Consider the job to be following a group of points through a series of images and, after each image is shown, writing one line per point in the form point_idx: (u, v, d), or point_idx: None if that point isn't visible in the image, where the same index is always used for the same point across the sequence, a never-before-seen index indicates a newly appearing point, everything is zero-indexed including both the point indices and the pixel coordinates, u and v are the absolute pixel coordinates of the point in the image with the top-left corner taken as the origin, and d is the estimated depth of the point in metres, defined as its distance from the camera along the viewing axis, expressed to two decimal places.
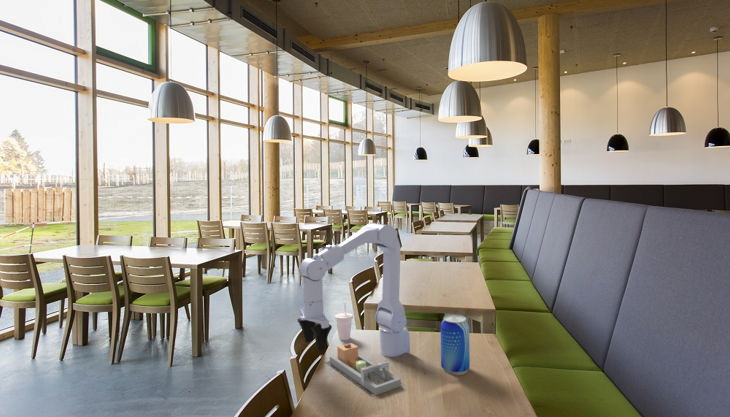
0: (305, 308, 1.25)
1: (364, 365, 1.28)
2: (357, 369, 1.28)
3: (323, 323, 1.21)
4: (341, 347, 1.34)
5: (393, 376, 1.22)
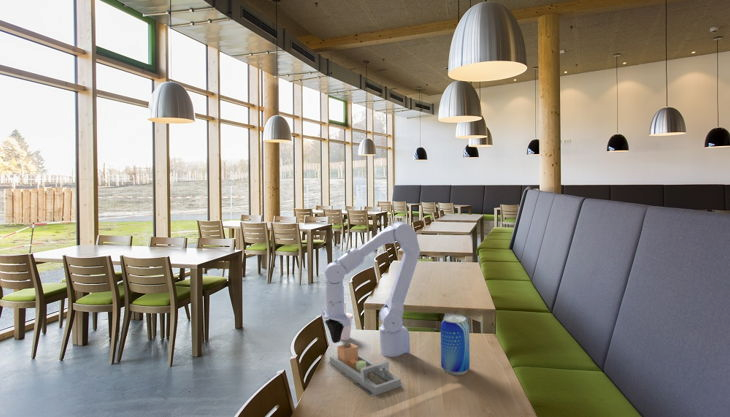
0: (328, 308, 1.38)
1: (364, 365, 1.28)
2: (357, 369, 1.28)
3: (345, 321, 1.34)
4: (341, 347, 1.34)
5: (393, 376, 1.22)
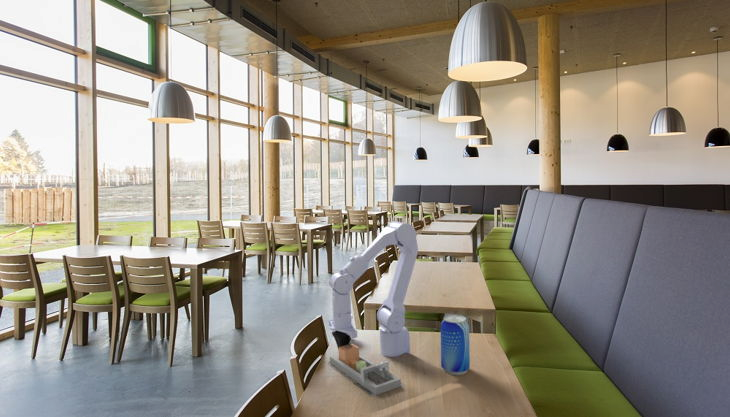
0: (334, 319, 1.35)
1: (364, 365, 1.28)
2: (357, 369, 1.28)
3: (352, 333, 1.30)
4: (342, 348, 1.34)
5: (393, 376, 1.22)
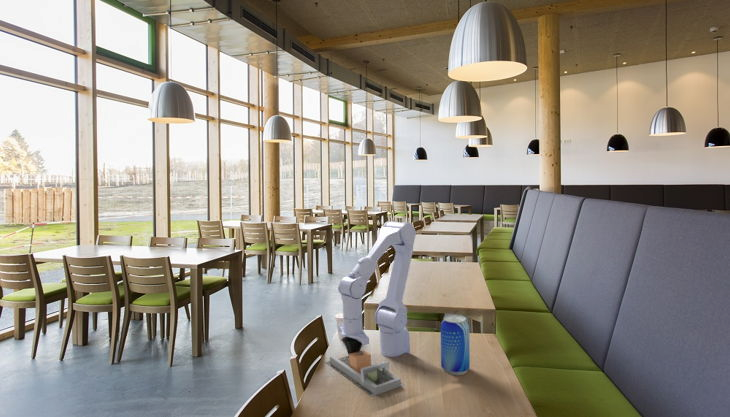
0: (345, 325, 1.29)
1: (375, 372, 1.23)
2: (368, 376, 1.23)
3: (364, 340, 1.25)
4: (353, 355, 1.28)
5: (393, 376, 1.22)
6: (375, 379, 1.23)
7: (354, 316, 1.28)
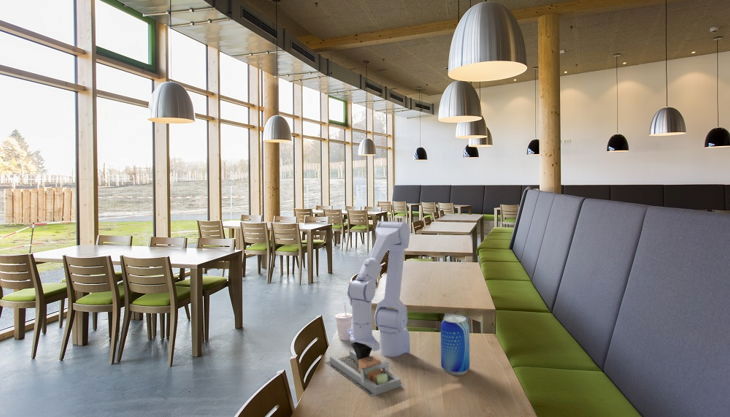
0: (355, 330, 1.25)
1: (385, 378, 1.19)
2: (378, 383, 1.19)
3: (374, 346, 1.21)
4: (362, 360, 1.24)
5: (393, 376, 1.22)
6: None
7: (367, 320, 1.24)
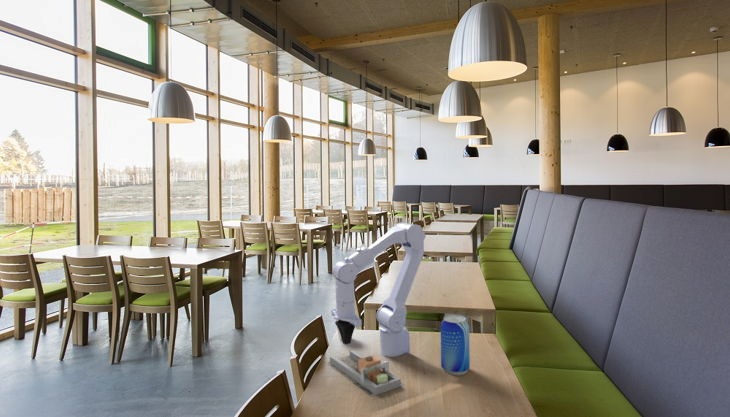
0: (338, 308, 1.33)
1: (385, 379, 1.19)
2: (378, 383, 1.19)
3: (356, 322, 1.29)
4: (362, 360, 1.24)
5: (393, 376, 1.22)
6: None
7: (344, 300, 1.32)
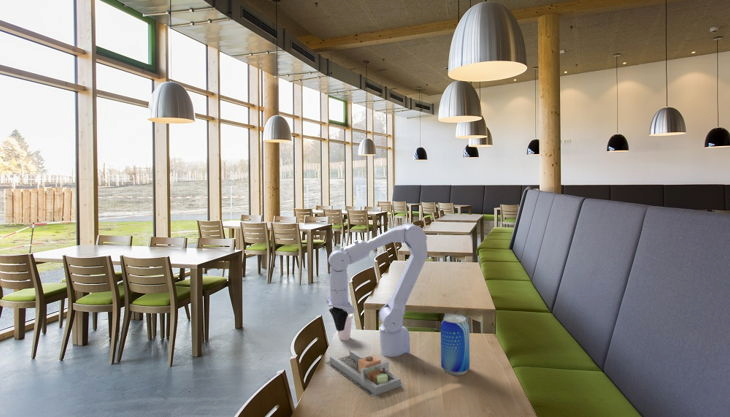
0: (332, 296, 1.37)
1: (385, 379, 1.19)
2: (378, 383, 1.19)
3: (349, 309, 1.33)
4: (362, 360, 1.24)
5: (393, 376, 1.22)
6: None
7: (335, 287, 1.36)
